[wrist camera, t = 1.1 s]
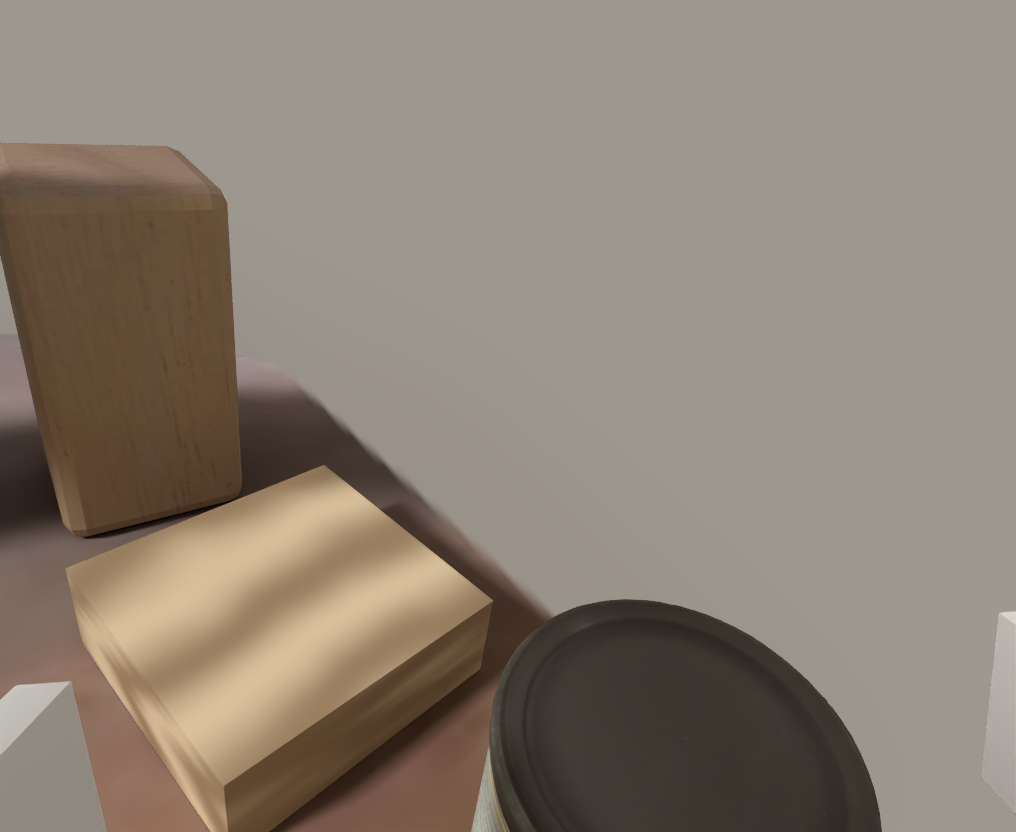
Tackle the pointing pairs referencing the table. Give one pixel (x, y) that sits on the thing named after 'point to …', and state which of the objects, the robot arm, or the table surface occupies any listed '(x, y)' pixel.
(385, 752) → the table surface
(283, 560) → the oak block
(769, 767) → the coffee can
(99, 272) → the wooden block
